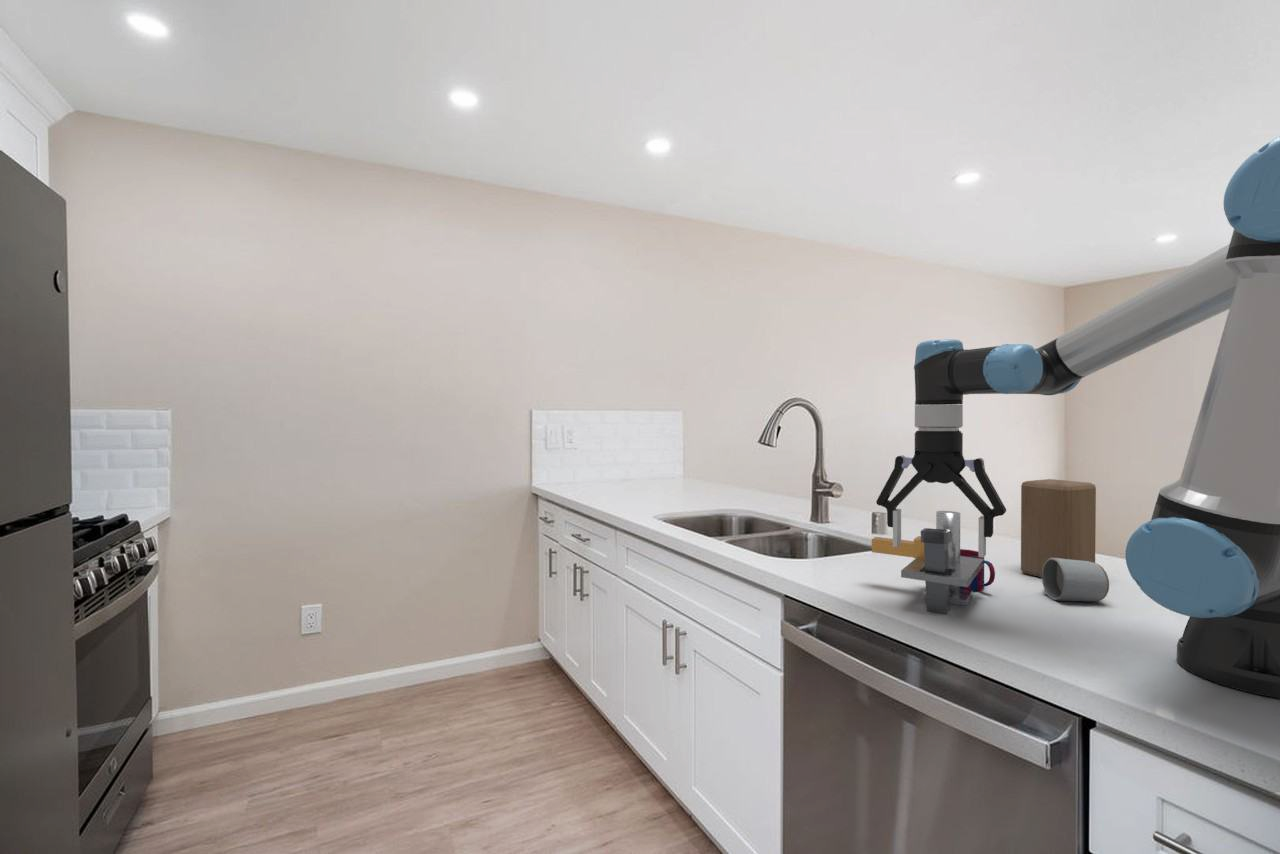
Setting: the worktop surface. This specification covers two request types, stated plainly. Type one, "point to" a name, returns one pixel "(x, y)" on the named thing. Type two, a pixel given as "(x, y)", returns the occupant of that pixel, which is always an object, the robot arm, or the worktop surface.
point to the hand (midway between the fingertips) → (937, 550)
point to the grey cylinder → (1074, 580)
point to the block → (1056, 522)
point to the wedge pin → (936, 568)
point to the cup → (979, 579)
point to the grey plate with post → (959, 566)
